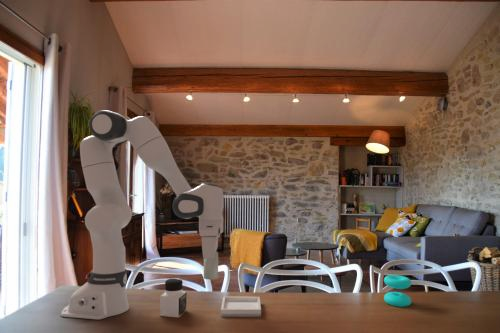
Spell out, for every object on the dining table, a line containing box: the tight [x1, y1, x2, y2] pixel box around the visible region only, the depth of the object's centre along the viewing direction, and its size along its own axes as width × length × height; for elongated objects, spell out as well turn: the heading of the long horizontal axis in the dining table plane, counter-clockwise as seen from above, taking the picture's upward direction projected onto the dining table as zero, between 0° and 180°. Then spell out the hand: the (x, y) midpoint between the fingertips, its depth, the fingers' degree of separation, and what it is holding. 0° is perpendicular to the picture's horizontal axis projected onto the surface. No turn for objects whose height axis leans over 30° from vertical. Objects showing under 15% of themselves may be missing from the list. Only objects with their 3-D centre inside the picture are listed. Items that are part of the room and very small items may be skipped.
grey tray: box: [220, 296, 262, 318], centre depth 137 cm, size 14×14×2 cm
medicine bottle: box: [159, 277, 187, 319], centre depth 133 cm, size 7×7×12 cm
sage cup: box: [203, 250, 219, 280], centre depth 135 cm, size 5×5×9 cm
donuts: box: [383, 274, 412, 308], centre depth 146 cm, size 10×10×10 cm
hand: (210, 266), depth 135 cm, fingers closed on sage cup, 5 cm apart
